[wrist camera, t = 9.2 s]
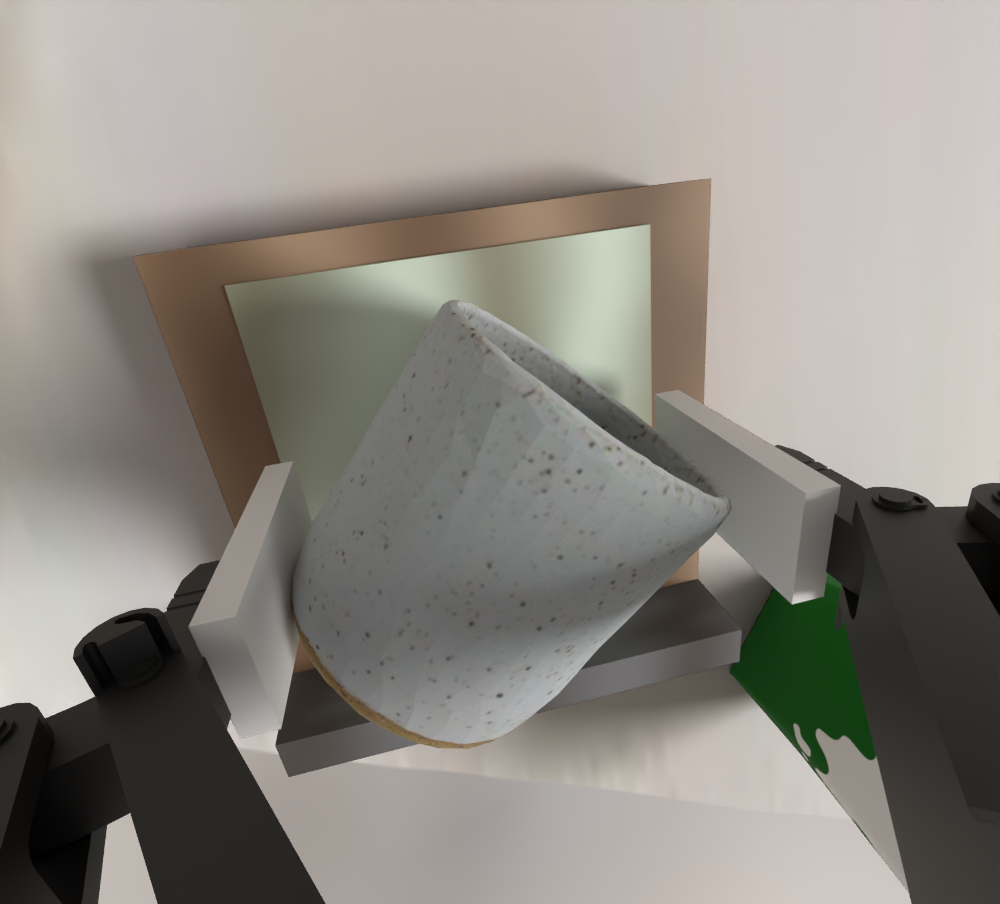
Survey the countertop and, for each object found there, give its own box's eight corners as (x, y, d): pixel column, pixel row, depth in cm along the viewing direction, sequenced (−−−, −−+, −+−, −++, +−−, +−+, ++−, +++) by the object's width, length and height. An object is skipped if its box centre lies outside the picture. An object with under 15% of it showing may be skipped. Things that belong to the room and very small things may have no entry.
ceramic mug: (290, 520, 16) (227, 751, 9) (433, 273, 14) (485, 335, 7) (568, 632, 20) (668, 853, 13) (709, 452, 18) (911, 600, 11)
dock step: (651, 185, 20) (777, 170, 13) (653, 554, 26) (739, 661, 20) (183, 248, 18) (72, 265, 11) (313, 631, 24) (288, 777, 18)
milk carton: (708, 682, 31) (1176, 1354, 12) (780, 544, 28) (1531, 1162, 10) (830, 692, 33) (1370, 1266, 15) (908, 566, 30) (1699, 1092, 12)
